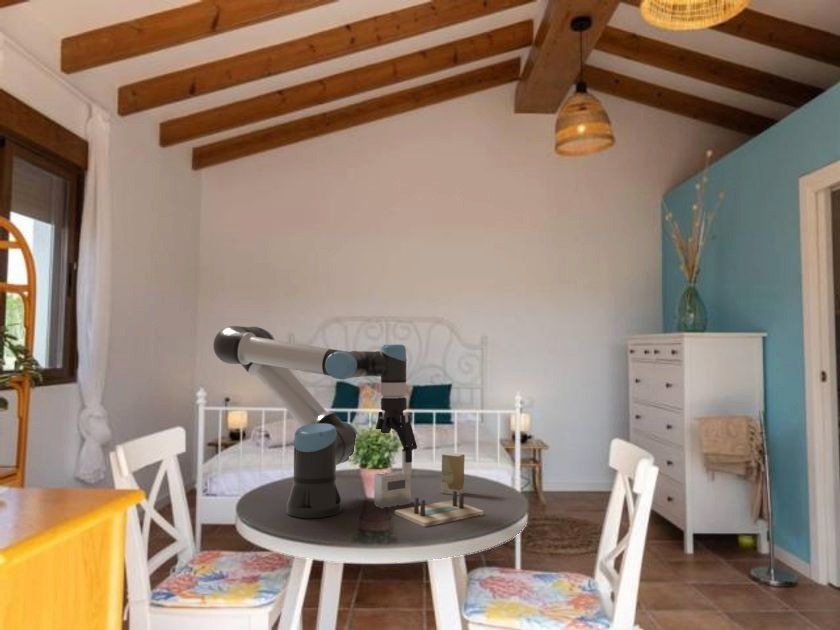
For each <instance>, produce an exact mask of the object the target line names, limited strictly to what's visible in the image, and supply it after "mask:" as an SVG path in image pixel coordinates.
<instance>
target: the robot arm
mask: <svg viewBox="0 0 840 630" xmlns="http://www.w3.org/2000/svg"><path fill="white" fill-rule="evenodd" d="M212 345H213V350H214V351H213V352H214V354H215V356H216V357H217V358H218V359H219V360H220V361H222V362H223V363H226V364H229V365H232V364H233V365H241V366H242V367H243V368H244V369H245V371H246V372H247V373H248V374H249V375H250V376H257V377H258V378H259V379H260V381H261V382H262V383H263V384H264V385H265V387H266V388H267V389H269V390H270V393H271V394H273V396H274V397H275V398H276V399H277V400H278V401H279V402H280V404H281V405H282V406H283V407H284V408H285V409H286V411H288V413H289V414H290V415H291V416H292V418H293V419H294V420H295V421H296V422H297V423H298V425H299V426H300V427H298V428H297V429H296V430H295V432H294V440H293V484H292V487H291V490H290V493H289V495H288V499H287V502H286V514H287V515H289V516H291V517H294V518H301V519H302V518H303V519H319V518H326V517H332V516H335V515H337V514H338V515H339V513H341V512H342V510H343V508H342V507H343V506H342V505H343V504H342V503H343V502H342V499H341V495H340V492H339V489H338V485H337V481H336V480H337V479H336V478H337V476H336V475H337V466H339V465H340V464H342V463H345V462H347V461H349V460H350V459H349V456H351V455H352V454H353V452H354V445H355V438H356V434H357V433H358V431H357V429H356V428H355V427H354V426H353V425H352V424H351V423H349V422H346V421H342V420H341V418H339V416H338V415H337V414H336V413H335V412H333V411H326V409H325V408H324V407H323V406H322V405H321V403H320V402H319V401H317V399H316V398H315V397H314V396H313V394H312V393H311V392H310V391H309V390H308V389H307V388H306V387H305V385H303V384H302V383H301V381H300V380H299V379H298V378H297V377H296V375H295V374H294V373H293V372H292V371H291V370H294V371H300V372H305V373H307V372H308V373H311V374H318V375H324V376H329V377H332V378H333V379H337V380H347V379H352V378H353V379H354V378H361V377H380V396H381V399H380V410H381V411H379V412H377V414H378V415H377V421H376V425H375V429H381V432H382V433H389V434H390V432H391V430H394V432H396V435H397V436H398V438H399V441H400V444H401V446H402V447H403V448H402V450H401V464H402V465H401V471H402V474H403V475H404V474H411V475H412V473H413V472H412V469H413V467H412V465H413V450H416V449H417V448H418V445H417V441H416V438H415V437H416V436H415V434H414V429H413V427H412V423H411V415H410V414H404V411H406V410H407V407H408V406H407V405H408V404H407V401H408V400H407V399H408V398H406V397H405V396H407V361H408V360H407V349H406V346H405V345H404V344H382V345H381V346H380V350H377V351H373V350H372V351H370V350H369V351H365V350H363V351H360V350H359V351H358V350H351V351H346V350H341V349H339V350H338V349H331V348H327V347H320V346H314V345H313V346H312V345H308V344H307V345H306V344H301V343H295V342H290V341H289V342H288V341H283V340H277V339H275V338H274V336H273V335H272V334H271V332H270V331H268V330H267V329H265V328H261V327H258V326H241V325H230V326H226V327H224V328H222V329H220V330H219V331H218V332H217V334H216V335H215V337H214V339H213V344H212Z"/></svg>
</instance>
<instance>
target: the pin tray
mask: <svg viewBox="0 0 840 630" xmlns="http://www.w3.org/2000/svg"><path fill="white" fill-rule="evenodd" d="M458 496H459V497H458ZM413 498H414V499H413V500H414V501H413V506H412V507H407V508H401V509H395V510H394V515H396V516H399V517H401V518H403V519H405V520H408V521H410V522H413V523H414V524H417V525H419V526H421V527H424V528H425V527H429V526H435V525H439V524H445V523H449V522H455V521H459V519H460V520H464V519H469V517H470V518H474V516H475V517H479V516H478V515H480V516H483V514H485V513H484V512H485V511H484V510H482V509H480V508H477V507H473V506H471V505H468V504H465V503H464V501H465V500H464V499H465V497H464V493H459V495H457V491H453V495H452V500H445V501H439V502H433V503H428V504H426V500H425V499H421V500H420V503H419V498H420V497H413ZM458 498H459V499H458ZM419 504H420V505H419Z"/></svg>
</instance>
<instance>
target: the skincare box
mask: <svg viewBox="0 0 840 630" xmlns="http://www.w3.org/2000/svg"><path fill="white" fill-rule="evenodd" d="M465 458H466V457H465V454H463V453H456V452H445V453H442V454H441V480H440V493H442V494H447V495H452V494H453V491H457V496H459V493H463V492H464V491H465V490H464V487H465V483H464V480H465ZM463 494H464V493H463Z"/></svg>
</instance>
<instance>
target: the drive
mask: <svg viewBox="0 0 840 630" xmlns="http://www.w3.org/2000/svg"><path fill="white" fill-rule="evenodd" d="M389 472H390V473H387V472H384V473H385V474H379V473H375V474H374V492H373V493H374V498H373V499H374V502H373V503H374V504H376V505H378V506H380V507H388V508H392V507H391V506H394V507H397V505H399V506H403V505H408V504H409V505H410V504H411V501H412V500H411V499H412V498H411V496H412V495H411V493H412V473H411V474H404V475H403V474H402V470H396V471H389Z"/></svg>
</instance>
